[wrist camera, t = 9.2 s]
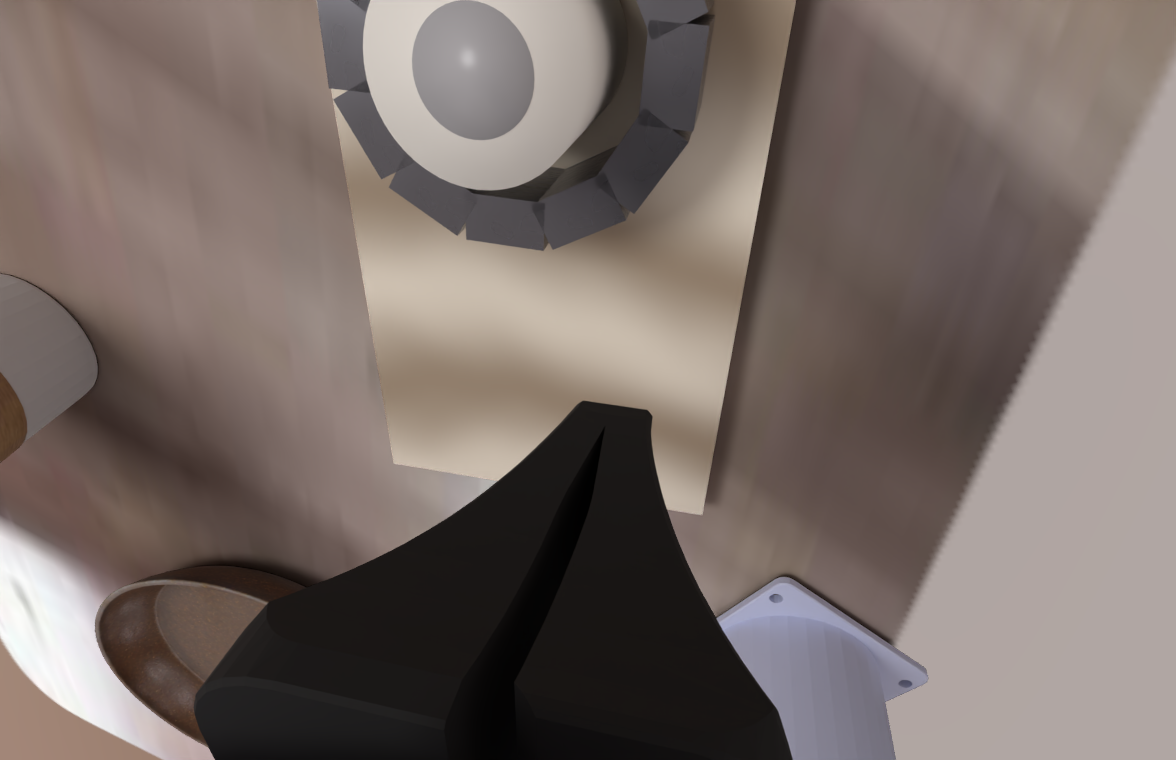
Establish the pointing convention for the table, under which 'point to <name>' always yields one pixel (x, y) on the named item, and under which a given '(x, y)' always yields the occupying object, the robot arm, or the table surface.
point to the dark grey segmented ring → (558, 196)
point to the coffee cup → (38, 362)
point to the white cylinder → (492, 81)
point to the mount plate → (580, 285)
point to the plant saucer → (180, 632)
